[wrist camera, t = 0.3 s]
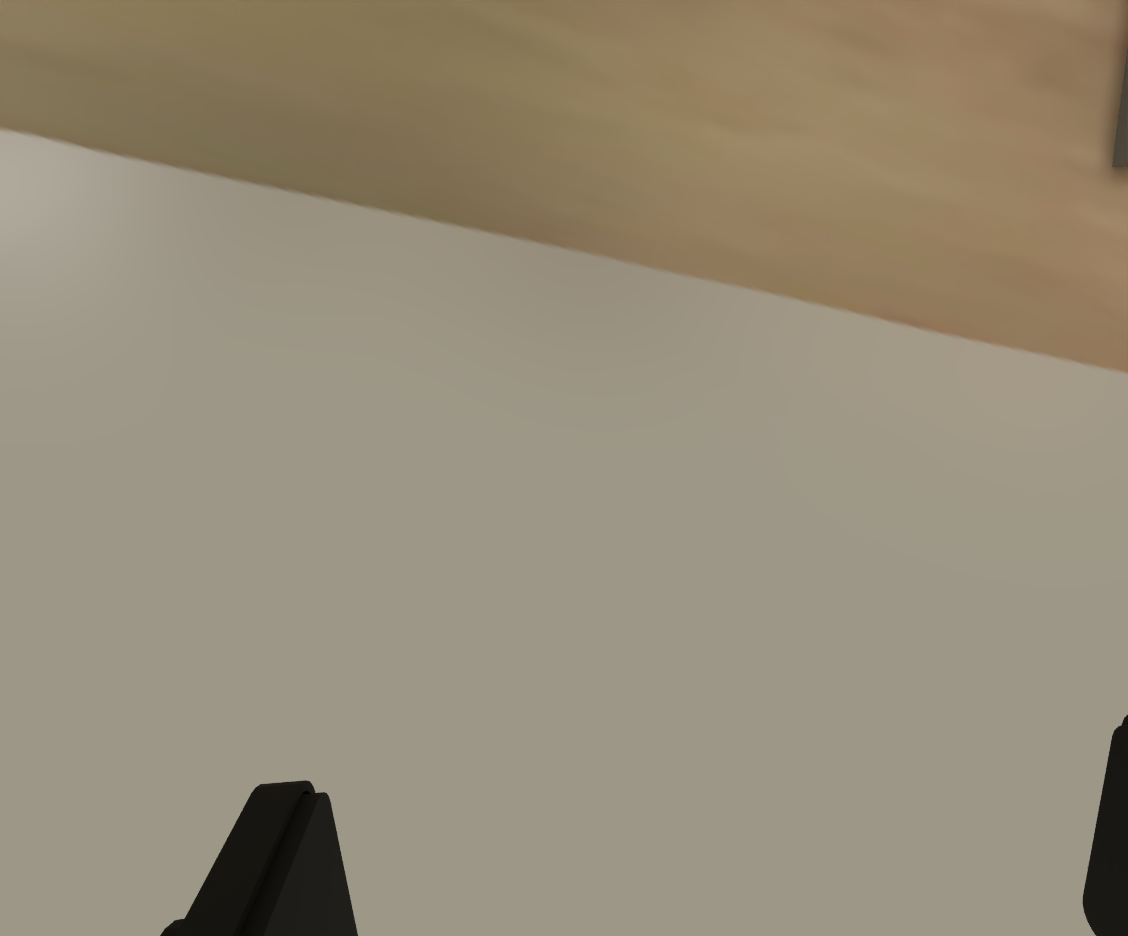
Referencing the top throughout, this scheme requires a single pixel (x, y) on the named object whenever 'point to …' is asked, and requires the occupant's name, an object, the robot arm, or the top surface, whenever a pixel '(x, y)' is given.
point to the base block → (1122, 126)
